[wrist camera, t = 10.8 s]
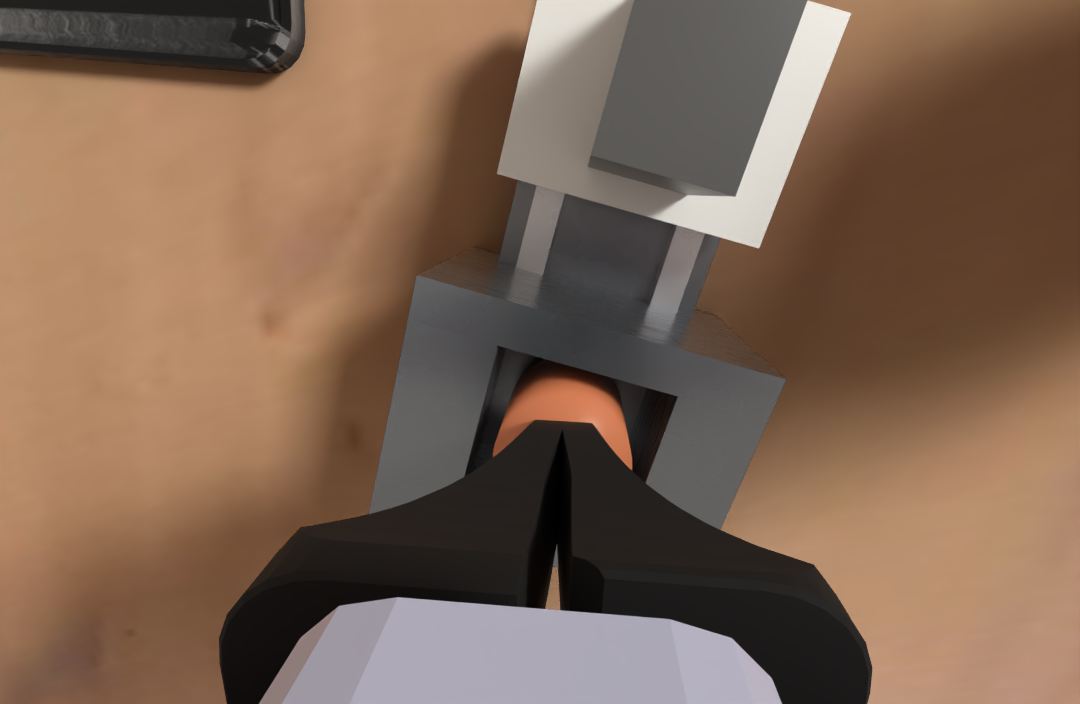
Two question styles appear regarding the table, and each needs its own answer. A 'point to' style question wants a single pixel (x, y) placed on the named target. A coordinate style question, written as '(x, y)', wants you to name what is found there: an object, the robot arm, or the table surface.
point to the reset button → (566, 404)
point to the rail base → (577, 352)
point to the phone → (159, 32)
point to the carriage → (671, 105)
